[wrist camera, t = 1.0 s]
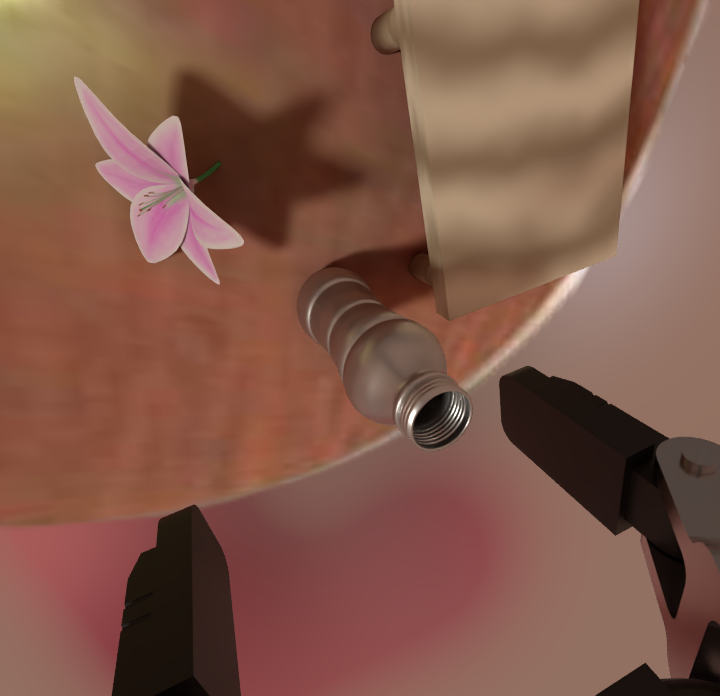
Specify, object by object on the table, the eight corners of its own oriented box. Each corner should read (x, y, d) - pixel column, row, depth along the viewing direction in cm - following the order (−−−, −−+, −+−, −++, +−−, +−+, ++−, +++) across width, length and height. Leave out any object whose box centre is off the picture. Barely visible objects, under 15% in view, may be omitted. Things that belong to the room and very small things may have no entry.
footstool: (355, 6, 30) (405, -36, 23) (552, -33, 33) (646, -79, 26) (404, 291, 40) (449, 320, 34) (549, 239, 44) (616, 255, 37)
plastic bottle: (371, 273, 38) (519, 373, 22) (344, 340, 40) (461, 480, 23) (306, 250, 35) (418, 345, 19) (280, 323, 37) (361, 470, 20)
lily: (97, 54, 27) (-17, 83, 20) (281, 84, 27) (236, 123, 20) (139, 229, 35) (69, 296, 27) (281, 251, 35) (249, 322, 28)
